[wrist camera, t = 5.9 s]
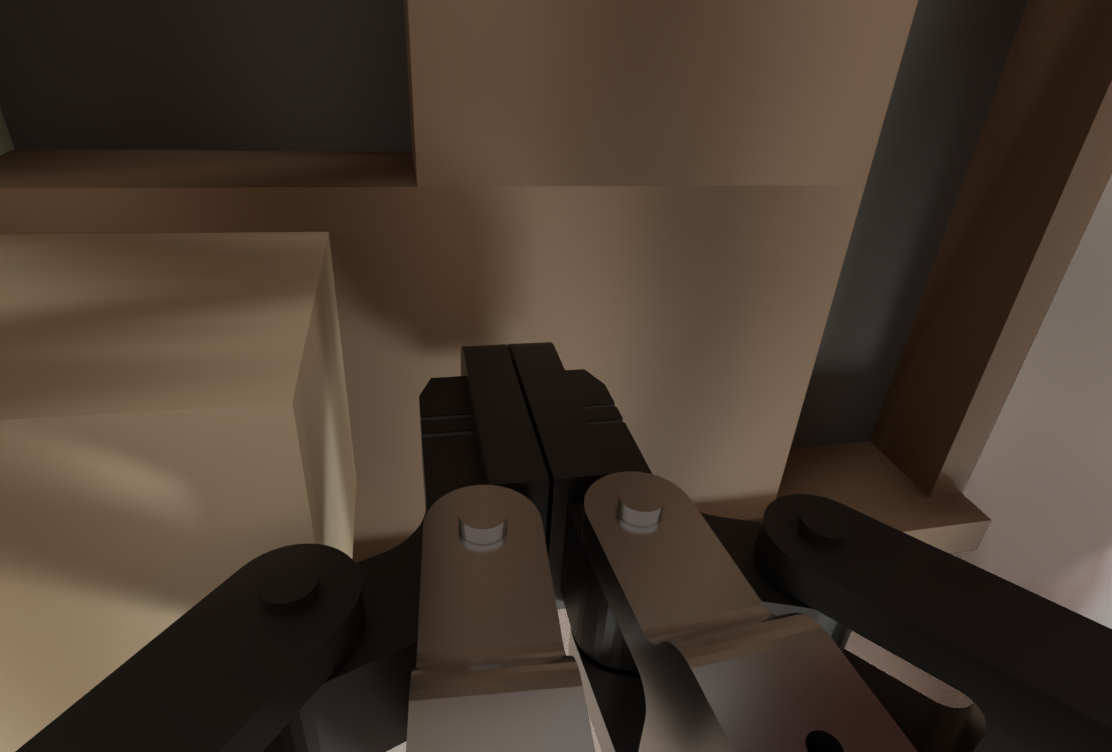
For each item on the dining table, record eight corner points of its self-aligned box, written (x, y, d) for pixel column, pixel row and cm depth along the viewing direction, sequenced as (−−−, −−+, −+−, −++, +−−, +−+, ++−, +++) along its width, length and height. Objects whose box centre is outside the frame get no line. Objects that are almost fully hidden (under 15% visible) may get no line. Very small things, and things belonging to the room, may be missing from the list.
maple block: (328, 232, 10) (292, 402, 6) (356, 480, 13) (343, 721, 9) (-46, 235, 9) (-392, 444, 5) (64, 506, 12) (-110, 795, 8)
